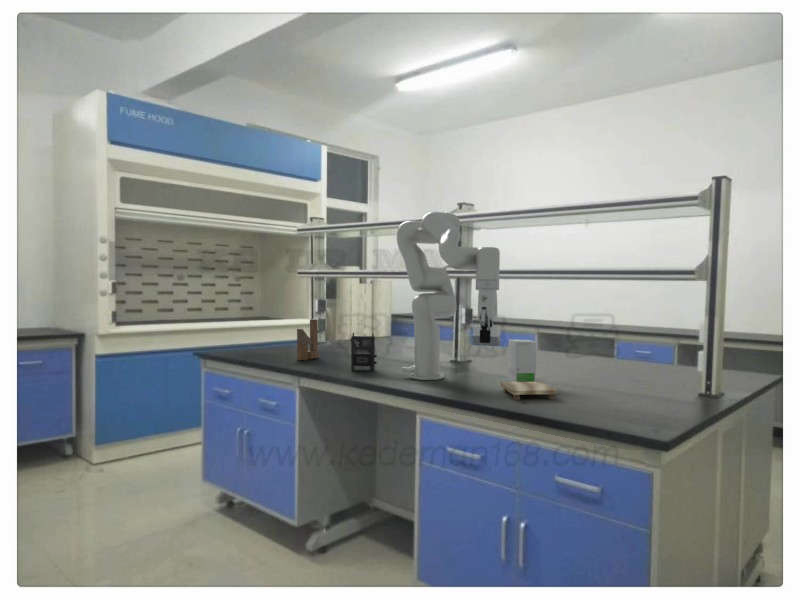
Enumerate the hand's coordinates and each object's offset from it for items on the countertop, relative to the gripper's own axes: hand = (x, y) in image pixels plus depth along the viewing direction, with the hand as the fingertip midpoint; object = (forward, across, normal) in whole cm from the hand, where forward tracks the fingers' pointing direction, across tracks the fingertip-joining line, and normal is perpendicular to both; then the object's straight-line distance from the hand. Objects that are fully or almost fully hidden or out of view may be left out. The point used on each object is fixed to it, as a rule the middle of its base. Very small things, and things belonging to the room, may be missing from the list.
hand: (486, 341), depth 182 cm
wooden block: (+18, +45, +89) cm, 102 cm away
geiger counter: (+18, +27, +54) cm, 64 cm away
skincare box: (+18, +22, -9) cm, 29 cm away
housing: (+1, 0, 0) cm, 1 cm away
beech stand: (+17, +3, -13) cm, 22 cm away
